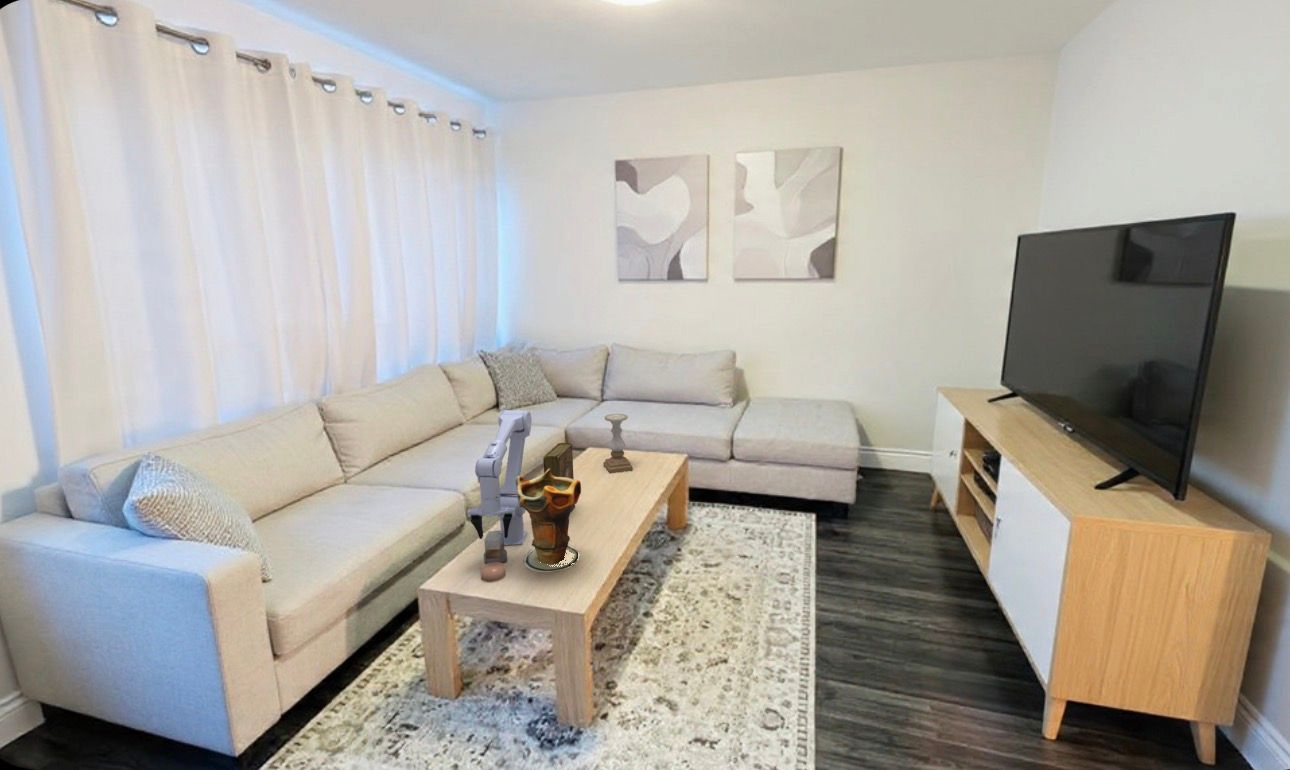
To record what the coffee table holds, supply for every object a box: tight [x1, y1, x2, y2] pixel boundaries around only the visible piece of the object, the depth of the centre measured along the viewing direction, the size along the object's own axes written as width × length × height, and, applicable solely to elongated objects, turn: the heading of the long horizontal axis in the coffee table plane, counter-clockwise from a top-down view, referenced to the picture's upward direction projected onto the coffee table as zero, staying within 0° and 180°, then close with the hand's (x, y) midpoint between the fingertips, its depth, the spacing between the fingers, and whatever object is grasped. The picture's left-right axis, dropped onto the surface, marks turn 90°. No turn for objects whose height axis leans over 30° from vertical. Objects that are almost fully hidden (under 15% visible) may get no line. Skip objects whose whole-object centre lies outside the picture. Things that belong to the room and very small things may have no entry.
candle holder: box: [603, 413, 633, 474], centre depth 267 cm, size 11×11×24 cm
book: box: [543, 442, 576, 513], centre depth 219 cm, size 16×6×25 cm, turn 168°
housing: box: [483, 530, 505, 559], centre depth 187 cm, size 4×6×6 cm
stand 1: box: [483, 548, 508, 565], centre depth 188 cm, size 7×7×2 cm
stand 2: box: [480, 562, 507, 583], centre depth 179 cm, size 7×7×2 cm
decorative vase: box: [515, 468, 582, 574], centre depth 187 cm, size 21×23×28 cm
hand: (493, 537), depth 187 cm, fingers open, 7 cm apart
